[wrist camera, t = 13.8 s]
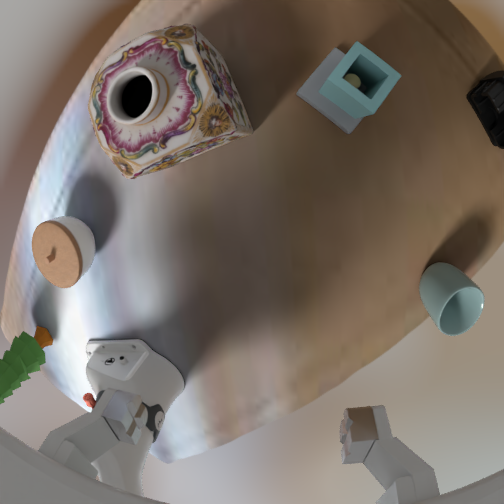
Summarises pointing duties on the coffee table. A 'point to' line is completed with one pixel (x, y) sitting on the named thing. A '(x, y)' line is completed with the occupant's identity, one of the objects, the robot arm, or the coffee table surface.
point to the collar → (371, 75)
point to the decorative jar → (165, 101)
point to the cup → (450, 298)
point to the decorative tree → (22, 360)
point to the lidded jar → (63, 250)
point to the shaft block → (324, 104)
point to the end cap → (490, 105)
